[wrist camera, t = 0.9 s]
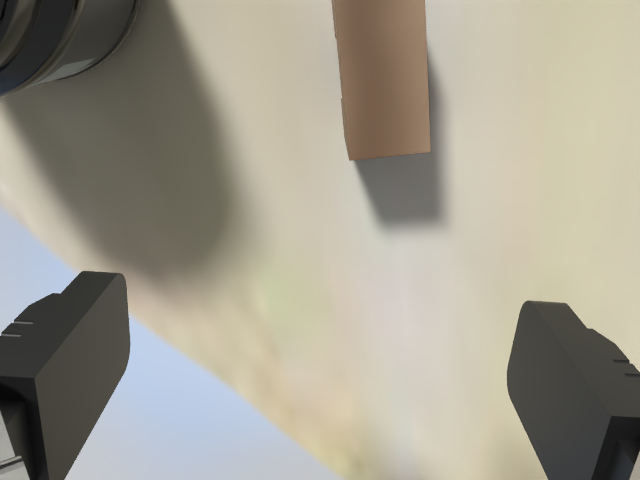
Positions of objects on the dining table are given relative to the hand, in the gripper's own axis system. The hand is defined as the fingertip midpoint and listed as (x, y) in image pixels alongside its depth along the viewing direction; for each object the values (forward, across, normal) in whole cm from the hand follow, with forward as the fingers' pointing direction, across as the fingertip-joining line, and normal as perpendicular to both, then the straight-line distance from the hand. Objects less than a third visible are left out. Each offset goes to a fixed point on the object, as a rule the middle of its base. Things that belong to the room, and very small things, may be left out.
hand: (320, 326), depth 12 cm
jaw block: (+20, -2, -4) cm, 20 cm away
